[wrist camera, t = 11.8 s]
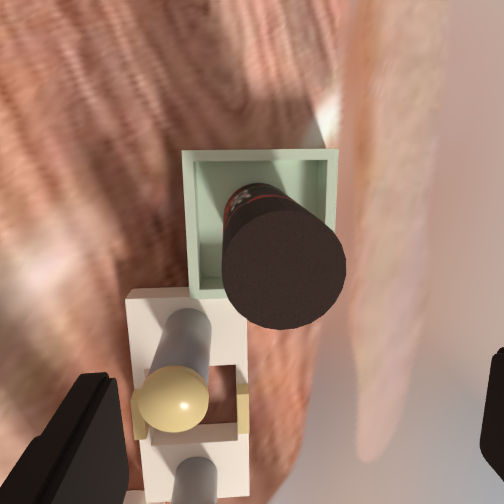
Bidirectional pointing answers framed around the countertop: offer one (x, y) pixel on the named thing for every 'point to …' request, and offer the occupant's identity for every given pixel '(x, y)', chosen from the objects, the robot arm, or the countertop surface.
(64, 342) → the countertop surface
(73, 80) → the countertop surface
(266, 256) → the deodorant
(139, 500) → the cylindrical container
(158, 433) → the fuse block
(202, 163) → the tray
